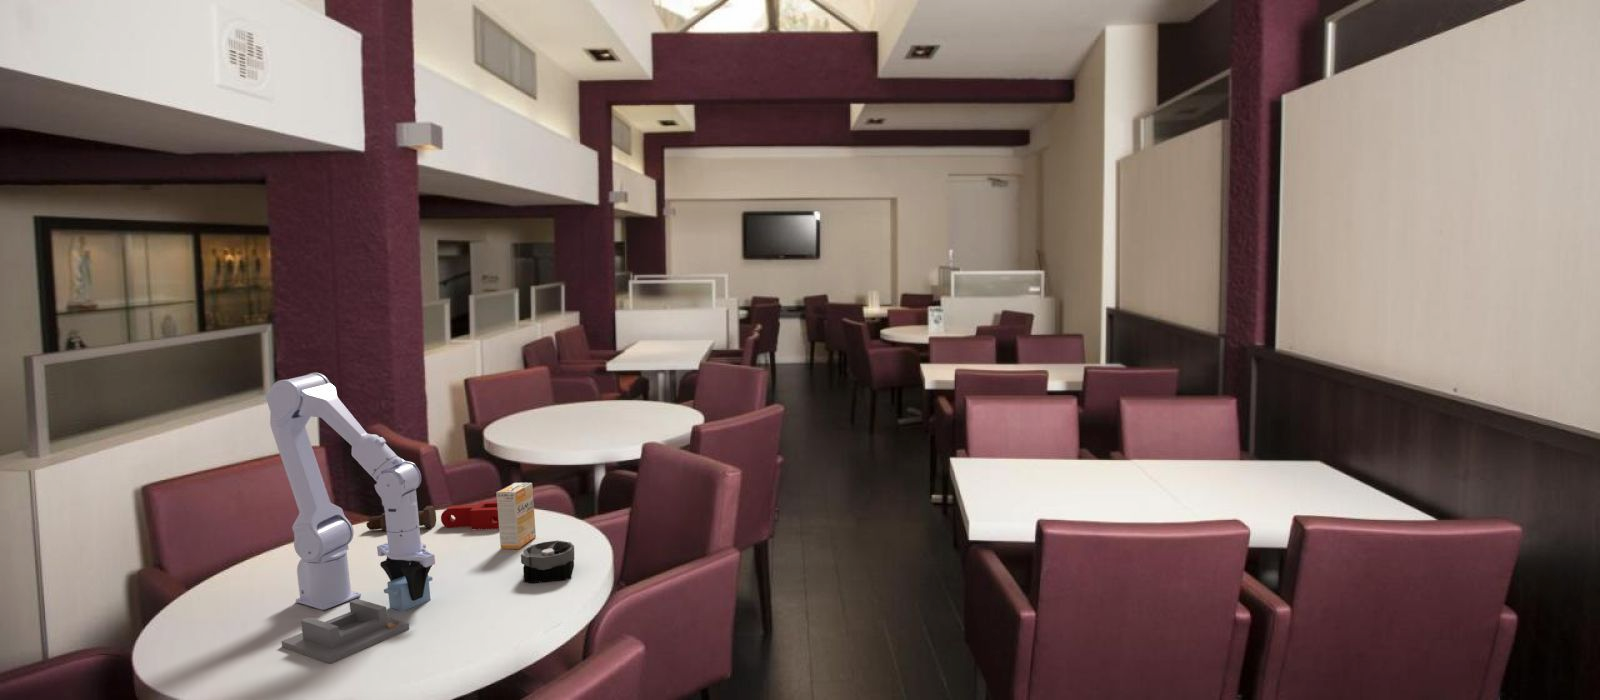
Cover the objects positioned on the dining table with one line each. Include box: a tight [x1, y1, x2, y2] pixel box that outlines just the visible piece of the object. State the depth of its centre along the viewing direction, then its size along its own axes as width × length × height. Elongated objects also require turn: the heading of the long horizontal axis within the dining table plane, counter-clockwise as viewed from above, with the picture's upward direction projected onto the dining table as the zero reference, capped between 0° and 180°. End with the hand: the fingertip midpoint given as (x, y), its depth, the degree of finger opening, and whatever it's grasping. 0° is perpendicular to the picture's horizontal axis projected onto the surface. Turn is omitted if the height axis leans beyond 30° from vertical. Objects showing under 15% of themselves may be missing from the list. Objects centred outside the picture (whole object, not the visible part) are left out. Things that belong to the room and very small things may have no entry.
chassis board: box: [280, 598, 410, 664], centre depth 163 cm, size 14×15×4 cm
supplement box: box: [495, 482, 537, 550], centre depth 210 cm, size 8×5×13 cm, turn 168°
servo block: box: [383, 574, 434, 612], centre depth 178 cm, size 4×8×6 cm, turn 149°
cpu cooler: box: [520, 540, 575, 584], centre depth 191 cm, size 10×6×10 cm
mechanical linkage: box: [440, 500, 499, 531], centre depth 225 cm, size 16×7×5 cm, turn 91°
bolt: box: [365, 505, 437, 533], centre depth 224 cm, size 6×5×15 cm
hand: (409, 596), depth 178 cm, fingers closed on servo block, 4 cm apart
